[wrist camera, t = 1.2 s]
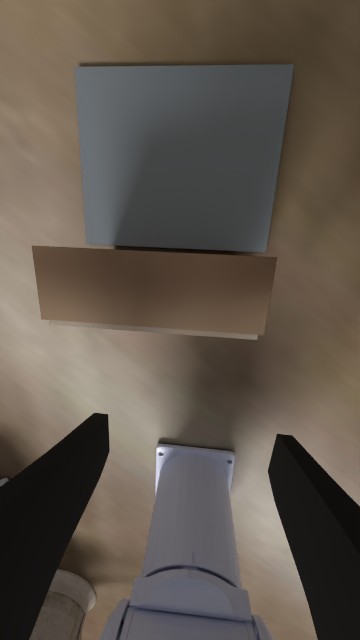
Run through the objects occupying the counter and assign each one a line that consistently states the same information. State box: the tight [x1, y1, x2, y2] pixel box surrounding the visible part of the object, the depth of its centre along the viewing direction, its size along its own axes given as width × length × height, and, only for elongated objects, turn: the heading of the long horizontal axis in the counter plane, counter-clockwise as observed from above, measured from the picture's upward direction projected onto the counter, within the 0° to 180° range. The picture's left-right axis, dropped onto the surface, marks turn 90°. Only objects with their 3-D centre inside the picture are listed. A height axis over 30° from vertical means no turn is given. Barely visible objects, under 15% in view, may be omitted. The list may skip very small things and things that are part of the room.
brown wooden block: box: [32, 246, 277, 340], centre depth 13 cm, size 4×10×9 cm, turn 87°
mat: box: [75, 64, 294, 253], centre depth 15 cm, size 11×14×1 cm
